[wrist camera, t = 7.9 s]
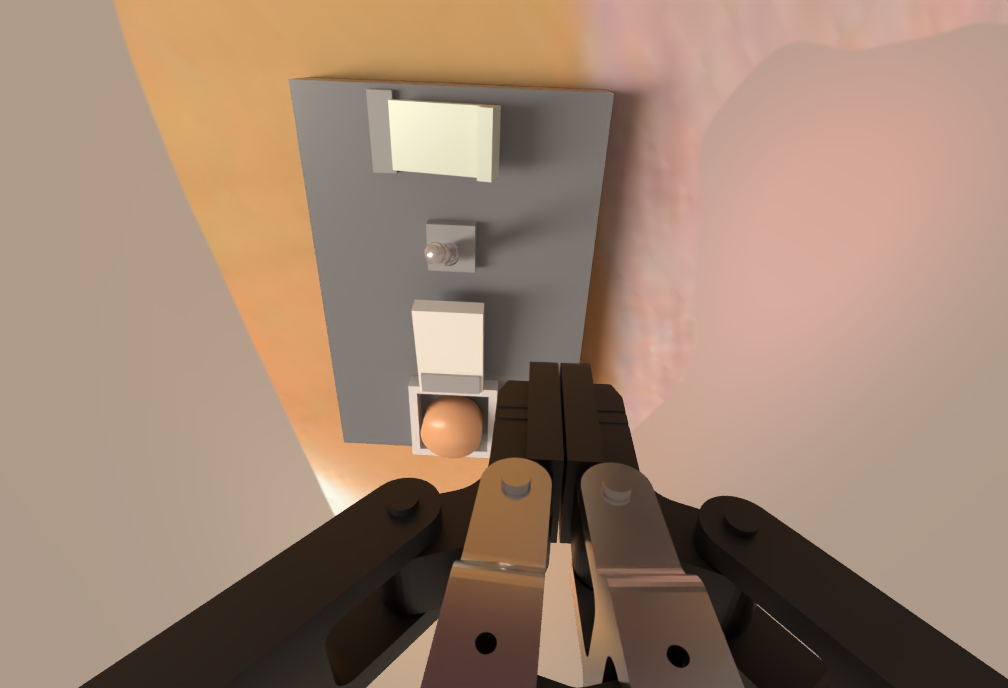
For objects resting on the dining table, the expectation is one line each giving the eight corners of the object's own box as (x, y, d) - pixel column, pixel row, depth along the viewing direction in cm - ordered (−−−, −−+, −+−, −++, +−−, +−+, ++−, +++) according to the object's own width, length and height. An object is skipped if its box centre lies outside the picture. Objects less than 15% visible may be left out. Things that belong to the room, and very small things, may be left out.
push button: (483, 396, 38) (481, 412, 36) (482, 442, 40) (480, 459, 38) (424, 392, 38) (419, 409, 36) (426, 439, 40) (422, 456, 38)
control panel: (606, 89, 31) (617, 94, 27) (565, 429, 43) (569, 465, 40) (308, 77, 31) (278, 80, 27) (355, 419, 44) (339, 453, 40)
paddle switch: (500, 105, 27) (492, 108, 25) (498, 176, 28) (491, 182, 27) (394, 98, 28) (381, 101, 26) (398, 167, 30) (386, 172, 28)
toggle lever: (462, 243, 31) (447, 239, 25) (461, 266, 32) (447, 268, 25) (439, 242, 31) (419, 237, 25) (438, 265, 32) (418, 267, 25)
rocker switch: (484, 302, 32) (482, 316, 31) (483, 382, 37) (482, 396, 36) (414, 299, 32) (410, 312, 31) (422, 379, 37) (419, 393, 36)
